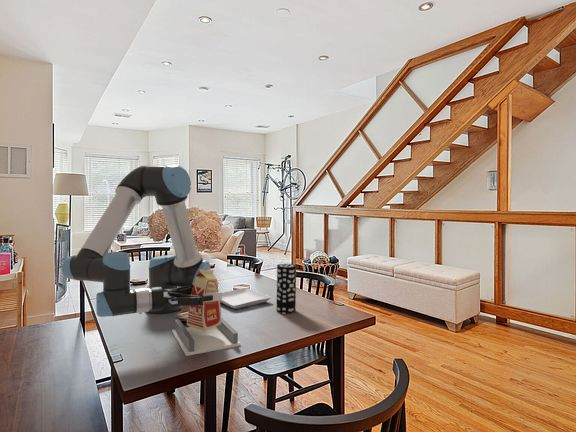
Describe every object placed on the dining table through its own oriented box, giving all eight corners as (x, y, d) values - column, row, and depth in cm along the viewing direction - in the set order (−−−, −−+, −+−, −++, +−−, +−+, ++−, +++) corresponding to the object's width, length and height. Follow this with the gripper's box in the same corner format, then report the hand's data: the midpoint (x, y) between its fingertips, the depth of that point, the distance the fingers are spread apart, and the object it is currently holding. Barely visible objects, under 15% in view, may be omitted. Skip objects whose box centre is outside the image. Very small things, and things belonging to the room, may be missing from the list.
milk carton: (204, 331, 122) (205, 271, 121) (185, 325, 127) (185, 268, 126) (223, 323, 130) (224, 267, 129) (204, 318, 135) (204, 264, 134)
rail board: (172, 332, 134) (172, 320, 134) (220, 324, 143) (220, 313, 142) (186, 356, 115) (186, 341, 115) (240, 345, 123) (240, 332, 123)
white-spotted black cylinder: (293, 314, 156) (294, 267, 155) (274, 313, 158) (275, 266, 156) (297, 308, 164) (297, 264, 163) (278, 307, 166) (279, 263, 165)
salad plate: (233, 312, 158) (233, 305, 158) (209, 301, 174) (209, 294, 174) (272, 303, 172) (272, 296, 172) (246, 294, 188) (246, 287, 188)
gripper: (145, 301, 129) (207, 295, 140) (155, 321, 109) (227, 311, 120) (145, 280, 129) (207, 275, 139) (155, 296, 109) (227, 289, 119)
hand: (216, 292), depth 130 cm, fingers closed on milk carton, 10 cm apart
